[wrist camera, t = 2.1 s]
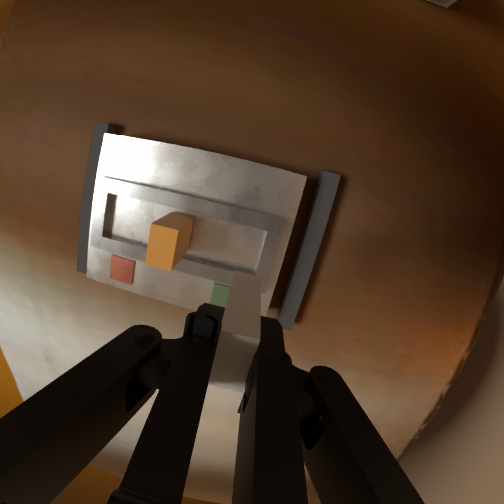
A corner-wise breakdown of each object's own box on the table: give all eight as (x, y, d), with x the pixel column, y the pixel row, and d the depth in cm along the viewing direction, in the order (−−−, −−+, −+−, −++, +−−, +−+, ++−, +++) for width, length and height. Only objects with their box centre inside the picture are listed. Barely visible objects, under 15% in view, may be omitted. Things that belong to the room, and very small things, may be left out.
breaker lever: (171, 211, 24) (151, 223, 20) (194, 217, 24) (178, 230, 20) (165, 245, 25) (145, 264, 20) (187, 251, 25) (171, 271, 20)
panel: (123, 136, 27) (99, 132, 22) (301, 174, 27) (308, 176, 23) (104, 264, 31) (81, 280, 26) (262, 307, 31) (262, 332, 26)
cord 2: (320, 169, 27) (324, 170, 26) (336, 174, 27) (340, 175, 26) (275, 319, 32) (276, 327, 30) (289, 322, 32) (291, 330, 30)
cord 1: (103, 123, 26) (96, 122, 25) (115, 125, 26) (108, 123, 25) (83, 266, 31) (76, 270, 29) (95, 269, 31) (88, 274, 29)
